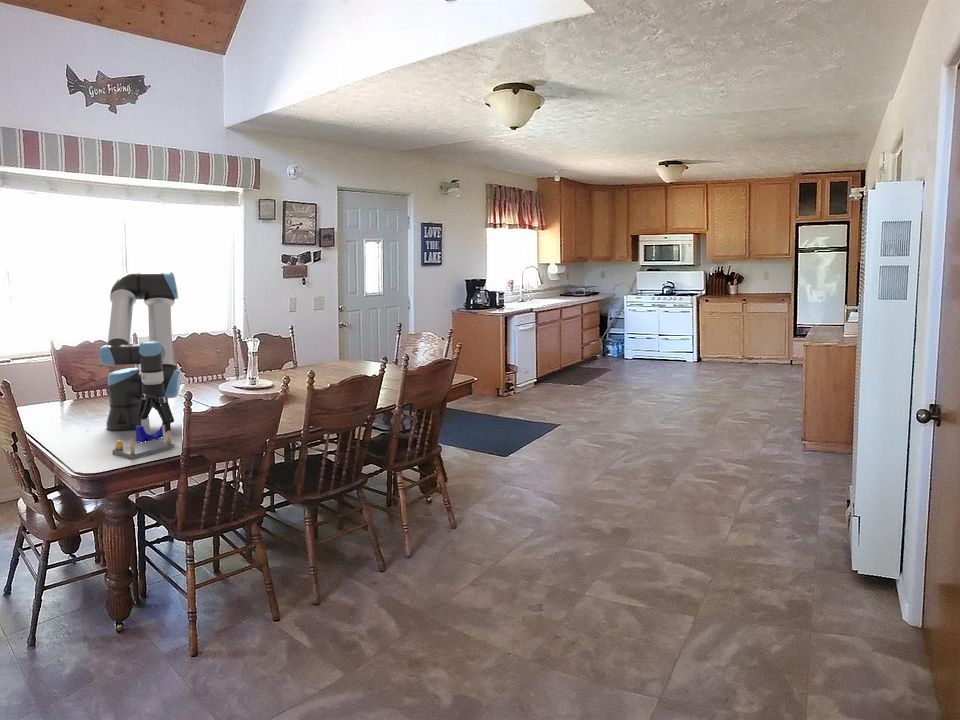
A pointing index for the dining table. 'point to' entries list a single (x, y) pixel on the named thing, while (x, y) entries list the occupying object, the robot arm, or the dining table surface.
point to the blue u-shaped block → (143, 436)
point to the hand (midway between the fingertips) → (156, 438)
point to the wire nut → (119, 445)
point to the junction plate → (144, 448)
